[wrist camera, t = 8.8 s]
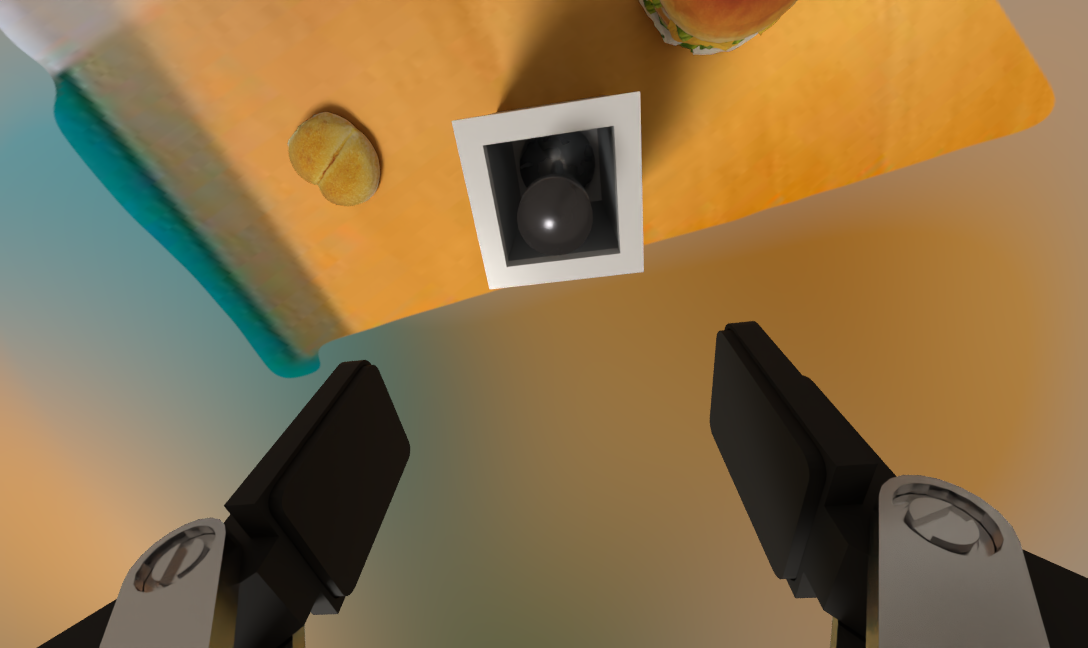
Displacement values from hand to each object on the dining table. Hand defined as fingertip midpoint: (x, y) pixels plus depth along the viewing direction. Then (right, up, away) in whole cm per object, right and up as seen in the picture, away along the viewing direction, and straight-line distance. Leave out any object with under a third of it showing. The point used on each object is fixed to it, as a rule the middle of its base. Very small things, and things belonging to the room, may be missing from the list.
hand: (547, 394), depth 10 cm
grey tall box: (+1, +19, +33) cm, 38 cm away
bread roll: (-22, +20, +34) cm, 45 cm away
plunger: (+1, +18, +32) cm, 36 cm away
